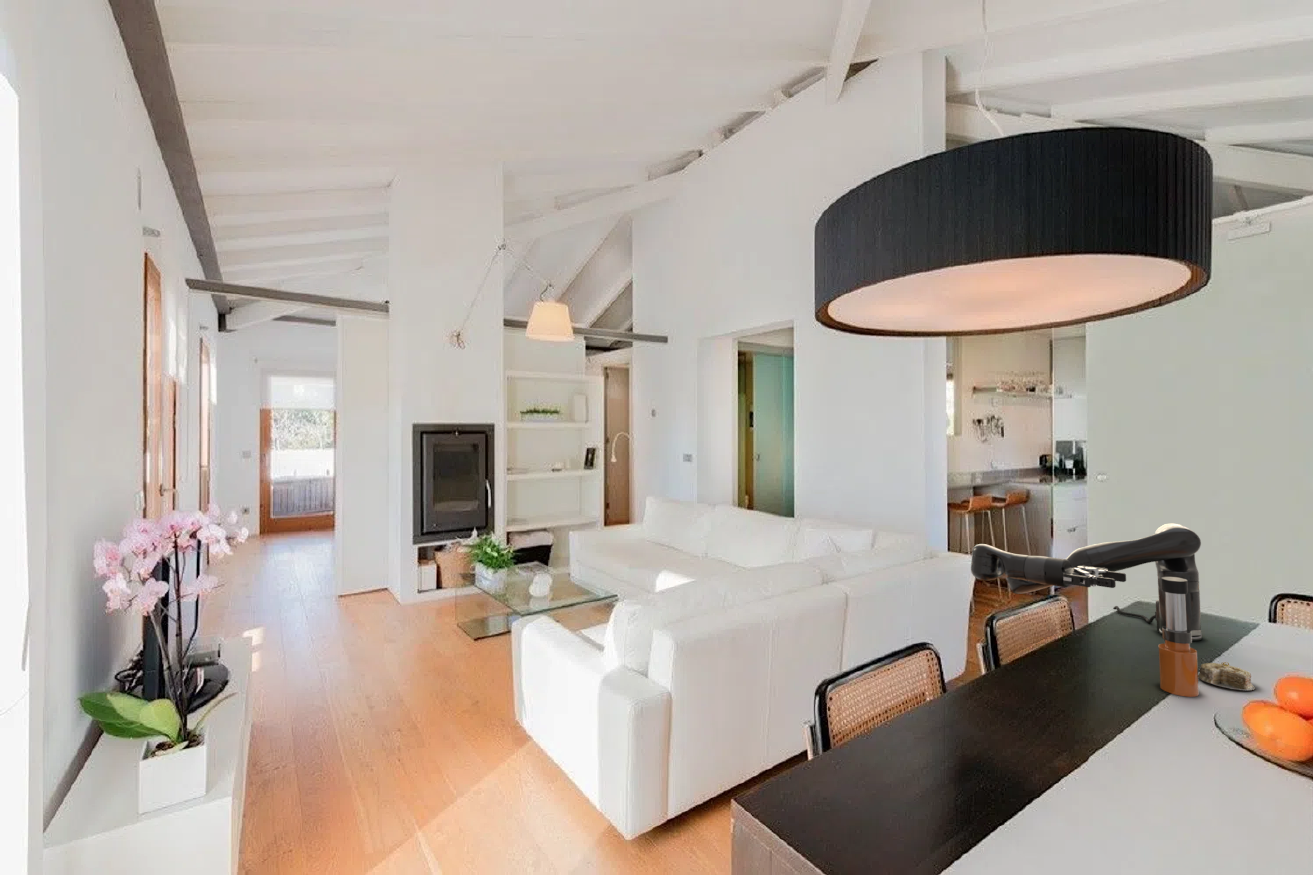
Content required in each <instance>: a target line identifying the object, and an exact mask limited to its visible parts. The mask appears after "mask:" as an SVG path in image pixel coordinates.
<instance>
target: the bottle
mask: <svg viewBox="0 0 1313 875" xmlns="http://www.w3.org/2000/svg"><path fill="white" fill-rule="evenodd" d="M1161 635H1162V636H1161V637H1162V639H1163V640H1164V643H1159V644H1158V646H1157V647H1158V667H1159V668H1158V669H1159V687H1160V689H1161V690H1162V691H1164V692H1167V693H1169V694H1172V695H1175V696H1180V697H1189V698H1193V697H1194V698H1195V697H1199V695H1200V689H1199V678H1198V675H1199V667H1198V666H1199V664H1198V651H1197V650H1196V648H1193V647H1191V644H1192V643H1193V641H1192V632H1191V631H1190V630H1188V629H1187V631H1186V632H1177V631H1172V630H1169V629H1167V628H1166V626H1164V627H1162V634H1161Z"/></svg>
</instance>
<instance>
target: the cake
mask: <svg viewBox="0 0 1313 875" xmlns="http://www.w3.org/2000/svg"><path fill="white" fill-rule="evenodd" d="M1198 679H1200V680H1201V681H1203V682H1205V683H1208V684H1210V685H1214V686H1218V687H1222V688H1225V689H1226V688H1227V689H1231V690H1238V691H1254V690H1255V689H1256V687H1255V685H1253V683H1252V674H1251V672H1250V671H1248V670H1245V669H1243V668H1241V667H1238V666H1234V665H1230V663H1229V662H1228V661H1223V662H1220V663H1217V662H1207V663H1206V662H1205V663H1202V664H1201V665H1200V667H1199V670H1198Z"/></svg>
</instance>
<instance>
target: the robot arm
mask: <svg viewBox="0 0 1313 875" xmlns="http://www.w3.org/2000/svg"><path fill="white" fill-rule="evenodd" d="M1201 546H1202V541H1201V538H1200V537H1199V535H1198V534H1197V533H1196V532H1195V531H1194V530H1192V529H1190V528H1188V527H1187V526H1184V525H1183V524H1179V523H1165V524H1163V525H1161V526H1159V527H1157V529H1156V530H1155V532H1154V534H1151V535H1148V536H1145V537H1141V538H1140V537H1139V538H1137V539H1131V540H1120V541H1119V540H1117V541H1107V542H1106V541H1105V542H1100V543H1099V542H1098V543H1095V544H1090V545H1086V546H1083V547H1079V548H1076V549H1074V550H1073V551H1071V553H1069V555H1068V556H1067V557H1066V558H1059V557H1050V556H1043V555H1027V554H1018V553H1012V552H1009V551H1005V550H1002V549H1000V548H998V547H995V546H992V545H989V544H985V543H979V544H975V546H973V547H972V551H971V562H970V573H971V574H972V576H973V577H974V578H975V579H977V580H980V581H994V580H997V579H1000V580H1004V579H1005V580H1006V582H1007V585H1008V587H1009V589H1010V591H1011V592H1012V593H1013V594H1015V595H1016V594H1017V595H1018V594H1019V595H1021V594H1023V595H1024V594H1028V593H1032V592H1036V591H1040V590H1044V589H1047V588H1050V587H1053V586H1055V587H1061V588H1068V587H1069V586H1070V585H1071V586H1078V587H1084V588H1091V587H1093V588H1094V587H1102V588H1103V587H1104V588H1109V589H1115V588H1116V584H1117V583H1116V582H1120V583H1125V582H1126V581H1127V574H1126V573H1124V572H1119V571H1123V570H1126V569H1131V568H1134V567H1138V566H1140V565H1141V566H1142V565H1144V564H1148V563H1155V568H1156V573H1157V574H1156V575H1157V594H1158V597H1157V598H1158V599H1156V600H1155V611H1154V614H1153V615H1151V617H1150V618H1148V617H1147V616H1145V615H1142V614H1138V613H1133V612H1127V611H1123V610H1121V609H1120V607H1119V606H1118V605H1115V606H1113V608H1112V609H1113V610H1116V611H1117V612H1118V611H1119V612H1118V613H1120V614H1122V615H1124V616H1129V617H1130V616H1131V617H1135V618H1140V619H1143V620H1145V622H1146V623H1147V624H1151V623H1153V621H1154V620H1155V622H1156V631H1157V632H1158V633H1159V634H1160V635H1162V627H1164V626H1166V607H1165V592H1164V591H1162V577H1177V578H1183V579H1186V580H1187V581H1188V593H1187V594H1185V601H1186V625H1187V629H1188V630H1190V631H1191V632H1192V642H1199V641H1201V640H1202V639H1203V635H1202V617H1201V615H1202V614H1201V596H1200V595H1201V594H1200V574H1199V573H1200V572H1199V570H1198V567H1197V563H1196V553H1197V552H1199V550H1200V548H1201Z"/></svg>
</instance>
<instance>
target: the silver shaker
mask: <svg viewBox="0 0 1313 875" xmlns="http://www.w3.org/2000/svg"><path fill="white" fill-rule="evenodd" d="M1162 591H1164V592H1165V607H1166V628H1167V629H1169V630H1172V631H1177V632H1186V631H1187V625H1186V601H1185V594H1187V593H1188V581H1187V580H1186V579H1183V578H1177V577H1162Z"/></svg>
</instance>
